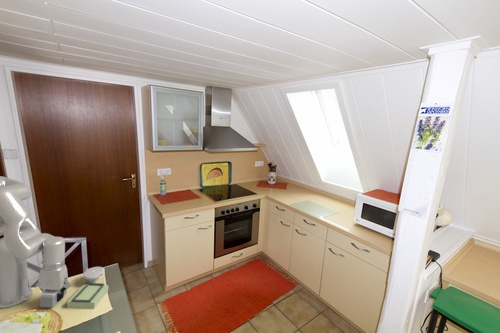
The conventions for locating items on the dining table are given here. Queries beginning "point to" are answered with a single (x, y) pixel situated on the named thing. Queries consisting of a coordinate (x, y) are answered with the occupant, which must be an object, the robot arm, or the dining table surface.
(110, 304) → the dining table surface
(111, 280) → the dining table surface
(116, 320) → the dining table surface
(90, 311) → the dining table surface
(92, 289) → the shallow green tray
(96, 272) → the showerhead
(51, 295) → the grey small block
